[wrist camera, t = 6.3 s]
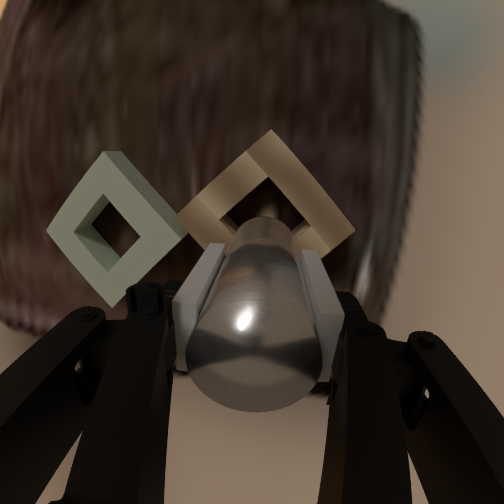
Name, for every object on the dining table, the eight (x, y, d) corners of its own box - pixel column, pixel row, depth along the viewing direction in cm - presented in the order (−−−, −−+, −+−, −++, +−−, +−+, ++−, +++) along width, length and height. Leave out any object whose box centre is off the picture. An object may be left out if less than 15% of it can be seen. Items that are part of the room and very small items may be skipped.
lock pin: (266, 203, 19) (260, 276, 8) (307, 250, 20) (348, 369, 8) (219, 244, 20) (158, 355, 9) (260, 287, 21) (248, 427, 9)
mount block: (271, 132, 30) (271, 129, 26) (345, 221, 32) (355, 230, 28) (185, 210, 32) (174, 217, 29) (260, 290, 35) (258, 307, 31)
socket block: (121, 151, 31) (103, 151, 27) (191, 229, 33) (181, 239, 29) (64, 223, 34) (46, 230, 30) (126, 293, 36) (112, 308, 32)
